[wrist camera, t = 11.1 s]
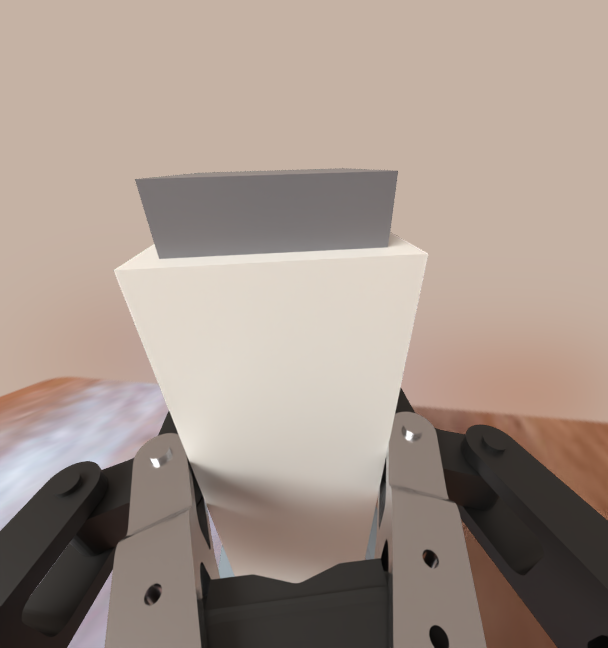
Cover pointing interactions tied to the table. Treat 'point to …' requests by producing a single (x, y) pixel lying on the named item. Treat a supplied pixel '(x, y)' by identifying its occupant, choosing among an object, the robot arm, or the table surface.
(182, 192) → the plug
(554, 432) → the table surface
